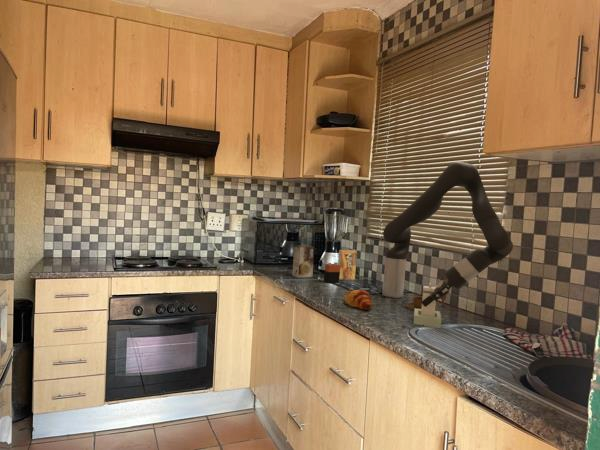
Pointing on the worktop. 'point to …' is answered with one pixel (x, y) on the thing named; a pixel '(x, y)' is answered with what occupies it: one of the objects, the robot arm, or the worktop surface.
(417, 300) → the place setting
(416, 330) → the worktop surface
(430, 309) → the block
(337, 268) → the battery
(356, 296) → the croissant
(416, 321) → the green rectangular tray
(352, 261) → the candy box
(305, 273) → the coffee box
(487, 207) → the robot arm
